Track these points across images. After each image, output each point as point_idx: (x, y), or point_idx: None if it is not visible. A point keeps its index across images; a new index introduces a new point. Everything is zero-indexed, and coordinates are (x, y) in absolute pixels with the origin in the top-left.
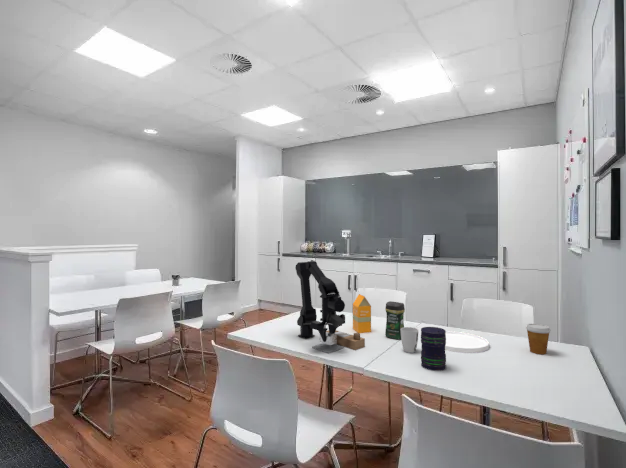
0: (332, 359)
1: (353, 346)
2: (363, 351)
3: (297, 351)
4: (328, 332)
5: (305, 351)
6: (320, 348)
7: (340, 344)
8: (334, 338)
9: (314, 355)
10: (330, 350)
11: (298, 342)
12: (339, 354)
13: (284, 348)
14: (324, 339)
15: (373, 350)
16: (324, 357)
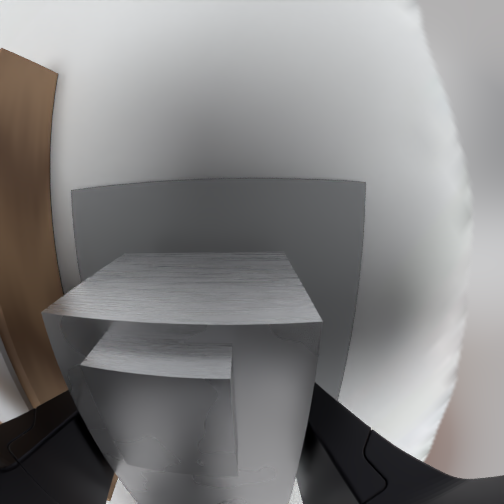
0: (426, 50)
1: (35, 88)
2: (52, 20)
3: (449, 388)
4: (124, 484)
5: (431, 365)
6: (321, 344)
7: (56, 288)
8: (141, 286)
9: (467, 243)
10: (290, 212)
11: (300, 494)
12: (283, 63)
13: (430, 448)
14: (321, 388)
15: (9, 21)
16: (450, 135)
